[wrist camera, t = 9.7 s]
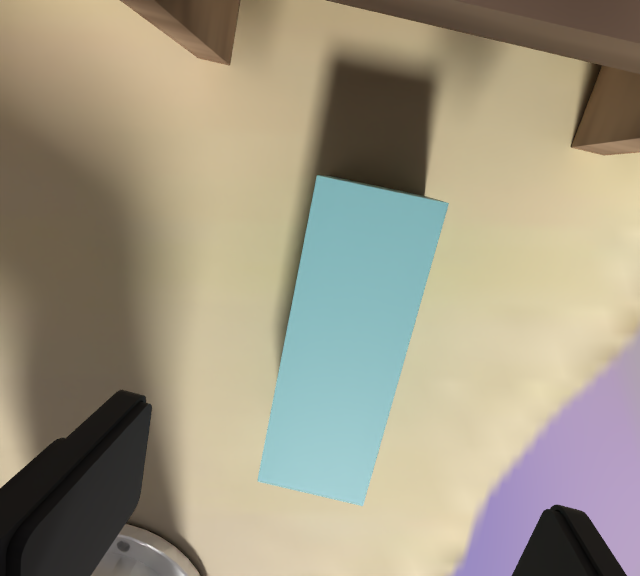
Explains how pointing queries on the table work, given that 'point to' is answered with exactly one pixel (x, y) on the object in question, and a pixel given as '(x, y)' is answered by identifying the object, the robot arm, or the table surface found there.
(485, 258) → the table surface
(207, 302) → the table surface
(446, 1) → the brown wooden block
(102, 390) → the table surface
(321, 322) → the teal block
